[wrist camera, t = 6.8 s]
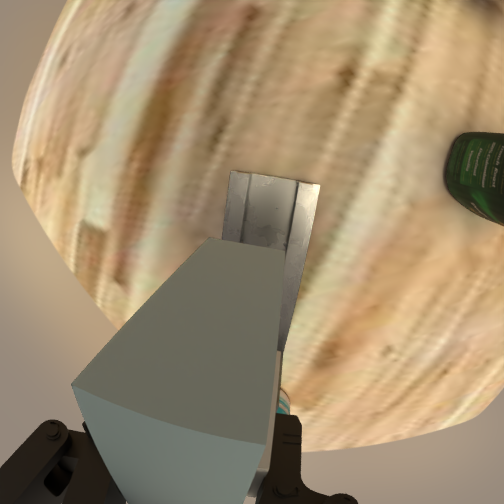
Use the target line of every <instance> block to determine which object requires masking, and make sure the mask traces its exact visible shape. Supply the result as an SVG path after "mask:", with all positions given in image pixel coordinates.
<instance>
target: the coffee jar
mask: <svg viewBox="0 0 504 504" xmlns="http://www.w3.org/2000/svg"><path fill="white" fill-rule="evenodd" d="M446 178H447V185H448V188H449V190H450V192H451V194H452V195H453V197H454V198H455V199H456V200H458V201H459V202H460V203H461V204H462V205H463V206H465V207H466V208H467V209H469V210H470V211H472V212H473V213H475V214H477V215H479V216H481V217H483V218H485V219H487V220H490V221H492V222H495V223H497V224H500V225H502V226H504V134H502V133H487V132H467V133H464V134H462V135H461V136H460V137H459V138H458V139H457V141H456V142H455V144H454V147H453V149H452V152H451V155H450V158H449V162H448V166H447V173H446Z"/></svg>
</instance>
